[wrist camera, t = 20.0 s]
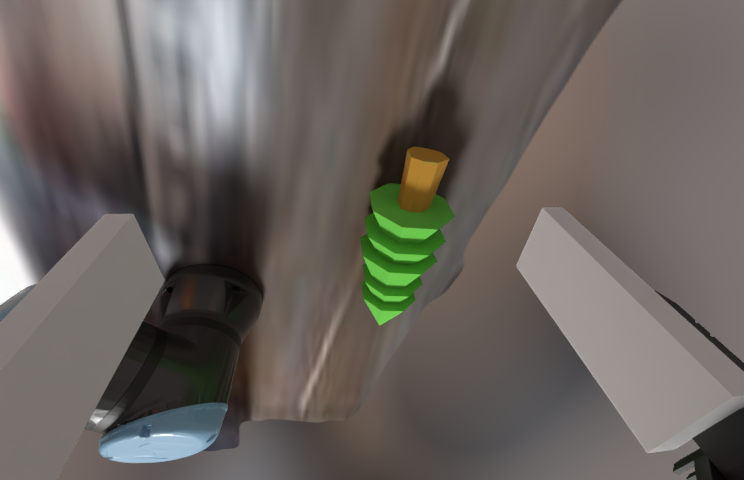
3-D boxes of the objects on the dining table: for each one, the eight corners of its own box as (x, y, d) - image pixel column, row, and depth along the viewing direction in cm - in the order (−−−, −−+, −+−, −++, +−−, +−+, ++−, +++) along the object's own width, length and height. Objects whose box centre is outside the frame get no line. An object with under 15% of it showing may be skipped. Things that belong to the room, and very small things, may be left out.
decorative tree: (472, 186, 31) (404, 364, 48) (473, 151, 40) (416, 311, 58) (362, 157, 33) (334, 340, 50) (388, 129, 42) (357, 291, 59)
